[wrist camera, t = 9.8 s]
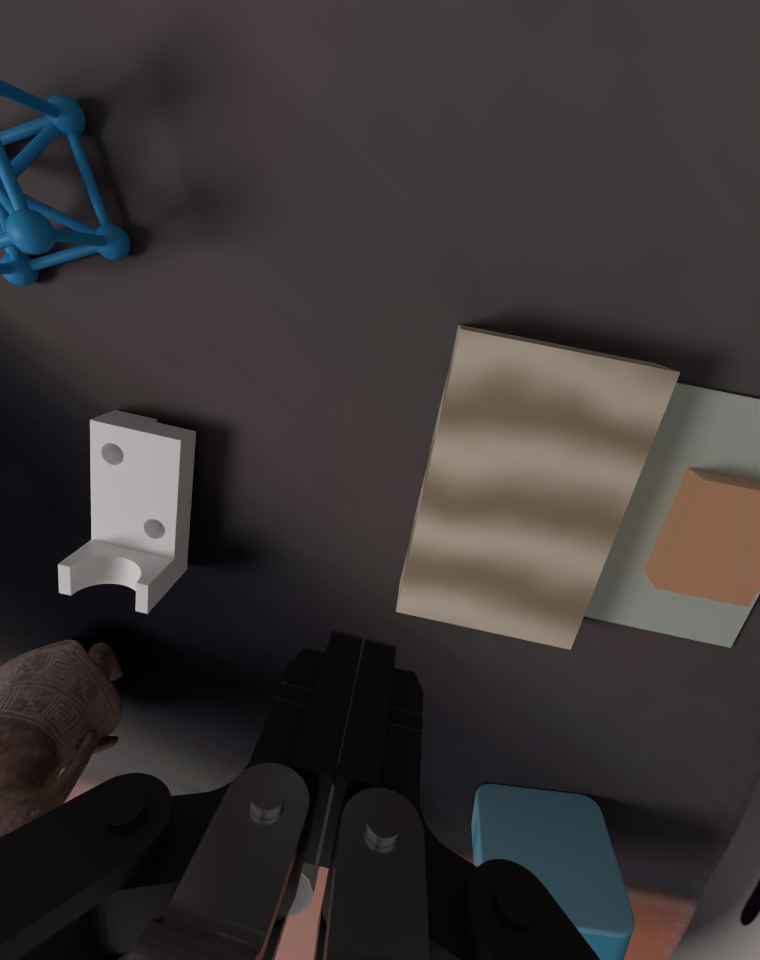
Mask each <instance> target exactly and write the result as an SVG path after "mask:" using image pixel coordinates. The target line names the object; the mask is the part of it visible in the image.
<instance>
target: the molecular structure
mask: <svg viewBox="0 0 760 960" xmlns="http://www.w3.org/2000/svg"><path fill="white" fill-rule="evenodd" d="M0 95H1V96H4V97H6V98H8V99H11V100H13V101H15V102H18V103H20V104H22V105H25V106H27V107H29V108H32V109H34V110H36V111H39V112H41V113H43V114H45V116H43V117H41V118H38V119H35V120H32V121H29V122H26V123H24V124H21V125H18V126H15V127H12V128H9V129H7V130H4V131H1V132H0V249H3V248H4V249H5V251H6V253H7V254H6V255H4V256H3V257H2V258H1V261H0V274H3V276H4V277H5V278H6V280H8V281H9V282H10V283H12V284H15V285H17V286H29V285H32V284H33V283H34V282H35V281H36V280H37V278H38V275H39V271H38V270H40V269H43V268H47V267H50V266H53V265H57V264H60V263H64V262H67V261H71V260H74V259H78V258H81V257H84V256H88V255H91V254H95V253H98V252H99V253H100V254H101V255H102V256H103V257H105V258H107V259H110V260H120V259H123V258H124V257H126V256H127V254H128V253H129V250H130V241H129V238H128V236H127V234H126V233H125V232H124V230H122V229H121V228H120V227H118V226H116V225H113V224H111V223H110V220H109V217H108V214H107V212H106V209H105V206H104V203H103V201H102V198H101V195H100V193H99V190H98V187H97V184H96V182H95V179H94V176H93V173H92V171H91V168H90V165H89V162H88V160H87V157H86V154H85V151H84V149H83V146H82V143H81V141H80V138H79V136H80V135H81V134H82V133H83V132H84V130H85V127H86V118H85V115H84V112H83V110H82V108H81V107H80V106H79V104H78V103H77V102H76V101H74V100H73V99H72V98H70V97H68V96H65V95H61V94H58V95H53V96H51V97H50V98H49V99H48V100H47V101H45V100H43V99H41V98H39V97H37V96H34V95H32V94H30V93H28V92H26V91H24V90H21V89H19V88H17V87H15V86H13V85H11V84H9V83H6V82H4V81H2V80H0ZM36 134H37V135H36ZM59 134H60V135H62V136H64V137H67V139H68V141H69V144H70V147H71V149H72V152H73V155H74V157H75V160H76V163H77V166H78V168H79V171H80V174H81V176H82V179H83V182H84V184H85V187H86V190H87V192H88V195H89V198H90V201H91V203H92V206H93V209H94V211H95V214H96V217H97V219H98V222H99V225H100V226H99V227H98V228H97V229H95V228H93V227H91V226H89V225H87V224H85V223H83V222H81V221H79V220H77V219H75V218H73V217H71V216H69V215H67V214H64V213H62V212H60V211H58V210H56V209H54V208H52V207H50V206H48V205H46V204H44V203H42V202H40V201H38V200H35V199H33V198H31V197H29V196H27V195H25V194H23V193H22V190H21V188H20V185H19V183H18V180H17V177H18V176H19V175H20V174H21V173H22V172H23V171H24V170H25V169H26V168H27V167H28V166H29V165H30V164H31V163H32V162H33V161H34V160H35V159H36V158H37V157H38V156H39V155H40V154H41V152H42V151H43V150H44V149H45V148H46V147H47V146H48V145H49V144H50V143H51V142H52V141H53V140H54V139H55V138H56V137H57V136H58V135H59ZM33 135H36V136H35V137H34V138H33V139H32V140H31V141H30V143H29V144H28V145H27V146H26V147H25V148H24V149H23V150H22V151H21V152H20V153H19V154H18V155H17V156H16V157H15V158H14V159H13V160H12V161H11V162H10V161H9V158H8V156H7V153H6V151H5V149H4V145H7V144H10V143H13V142H16V141H19V140H22V139H25V138H28V137H30V136H33ZM46 217H47V218H49V219H51V220H53V221H55V222H57V223H60V224H62V225H64V226H66V227H68V228H70V229H72V230H74V231H69V230H62V229H55V228H53V226H52V224H51V223H50V222H49V220H48V219H47V218H46ZM76 231H77V232H76ZM55 242H63V243H72V244H81V245H80V246H76V247H73V248H70V249H66V250H63V251H59V252H56V253H53V254H49V255H46V256H42V257H39V258H36V259H32V258H30V257H29V256H27V255H26V254H23V253H21V251H20V250H22V251H24V252H26V253H29V254H37V255H39V254H43V253H46V252H48V251H49V250H50V249H51V248H52V247H53V245H54V243H55Z"/></svg>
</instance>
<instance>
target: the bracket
mask: <svg viewBox="0 0 760 960" xmlns="http://www.w3.org/2000/svg"><path fill="white" fill-rule="evenodd" d="M195 440H196V431H193V430H188V429H184V428H179V427H175V426H171V425H166V424H162V423H157V419H153V418H149V417H144V416H140V415H135V414H131V413H126V412H122V411H118V410H114V411H112V412H109V413H106V414H104V415H101V416H99V417H96V418H93V419H91V420H90V461H91V538H92V540H90V541H89V542H88V543H86V544H85V545H84V546H82V547H81V548H79V549H78V550H77V551H75V552H74V553H73V554H71V555H70V556H68V557H67V558H66V559H64V560H63V561H62V562H60V563H59V564H58V578H59V593H62V594H66V595H72V594H74V593H75V592H77V591H79V590H81V589H83V588H86V587H89V586H92V585H97V584H109V583H110V584H120V585H125V586H128V587H130V588H132V589H133V590H135V591H136V611H138V612H142V613H146V614H148V613H149V611H150V610H151V609H152V608H153V607H154V606H155V605H156V604H157V602H158V601H159V600H160V599H161V598H162V597H163V596H164V595H165V593H166V592H167V591H168V590H169V589H170V588H171V587H172V586H173V584H174V583H175V582H176V581H177V580H178V579H179V578H180V577H181V575H182V574H183V573H184V572H185V571H186V570H187V559H188V544H189V529H190V514H191V500H192V485H193V470H194V455H195Z"/></svg>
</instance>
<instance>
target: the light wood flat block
mask: <svg viewBox="0 0 760 960" xmlns="http://www.w3.org/2000/svg"><path fill="white" fill-rule="evenodd" d="M679 375H680V372H678V371H675V370H673V369H670V368H667V367H664V366H662V365H659V364H656V363H652V362H647V361H641V360H636V359H631V358H626V357H621V356H616V355H611V354H606V353H601V352H596V351H591V350H585V349H580V348H575V347H570V346H565V345H560V344H555V343H550V342H545V341H540V340H535V339H529V338H524V337H519V336H514V335H509V334H504V333H499V332H494V331H489V330H484V329H479V328H473V327H468V326H463V325H459V326H458V330H457V335H456V339H455V343H454V348H453V352H452V357H451V361H450V365H449V370H448V374H447V379H446V383H445V387H444V392H443V396H442V400H441V405H440V409H439V414H438V418H437V422H436V427H435V431H434V436H433V440H432V444H431V449H430V453H429V458H428V462H427V466H426V471H425V475H424V479H423V484H422V488H421V493H420V497H419V501H418V506H417V510H416V515H415V519H414V523H413V528H412V532H411V537H410V541H409V545H408V550H407V554H406V558H405V563H404V567H403V572H402V576H401V580H400V585H399V593H398V600H397V608H396V612H400V613H404V614H409V615H413V616H418V617H423V618H427V619H432V620H436V621H441V622H446V623H450V624H455V625H459V626H464V627H469V628H473V629H478V630H482V631H487V632H492V633H496V634H501V635H505V636H510V637H515V638H519V639H524V640H528V641H533V642H538V643H542V644H547V645H551V646H556V647H561V648H565V649H570V650H571V647H572V645H573V642H574V640H575V637H576V635H577V632H578V630H579V627H580V625H581V622H582V620H583V617H584V615H585V612H586V610H587V607H588V604H589V602H590V599H591V597H592V594H593V592H594V589H595V587H596V584H597V582H598V579H599V577H600V574H601V572H602V569H603V567H604V564H605V562H606V559H607V556H608V554H609V551H610V549H611V546H612V544H613V541H614V539H615V536H616V534H617V531H618V529H619V526H620V524H621V521H622V519H623V516H624V514H625V511H626V508H627V506H628V503H629V501H630V498H631V496H632V493H633V491H634V488H635V486H636V483H637V481H638V478H639V476H640V473H641V471H642V468H643V466H644V463H645V460H646V458H647V455H648V453H649V450H650V448H651V445H652V443H653V440H654V438H655V435H656V433H657V430H658V428H659V425H660V423H661V420H662V418H663V415H664V412H665V410H666V407H667V405H668V402H669V400H670V397H671V395H672V392H673V390H674V387H675V385H676V382H677V380H678V377H679Z"/></svg>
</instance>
